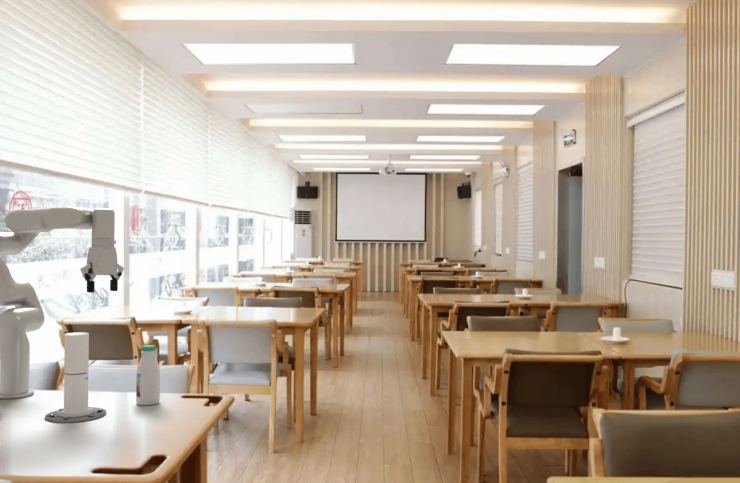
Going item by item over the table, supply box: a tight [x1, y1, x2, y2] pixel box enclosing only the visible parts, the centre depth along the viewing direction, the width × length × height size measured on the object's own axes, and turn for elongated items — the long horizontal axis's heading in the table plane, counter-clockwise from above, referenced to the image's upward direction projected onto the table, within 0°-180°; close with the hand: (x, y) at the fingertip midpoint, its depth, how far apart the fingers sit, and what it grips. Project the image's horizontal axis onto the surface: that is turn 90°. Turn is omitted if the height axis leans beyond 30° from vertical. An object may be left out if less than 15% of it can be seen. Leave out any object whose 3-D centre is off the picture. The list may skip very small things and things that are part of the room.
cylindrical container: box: [63, 331, 90, 415], centre depth 217 cm, size 7×7×25 cm
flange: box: [44, 406, 107, 424], centre depth 217 cm, size 18×18×1 cm
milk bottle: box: [135, 344, 161, 406], centre depth 235 cm, size 8×8×20 cm
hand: (102, 291), depth 240 cm, fingers open, 9 cm apart
